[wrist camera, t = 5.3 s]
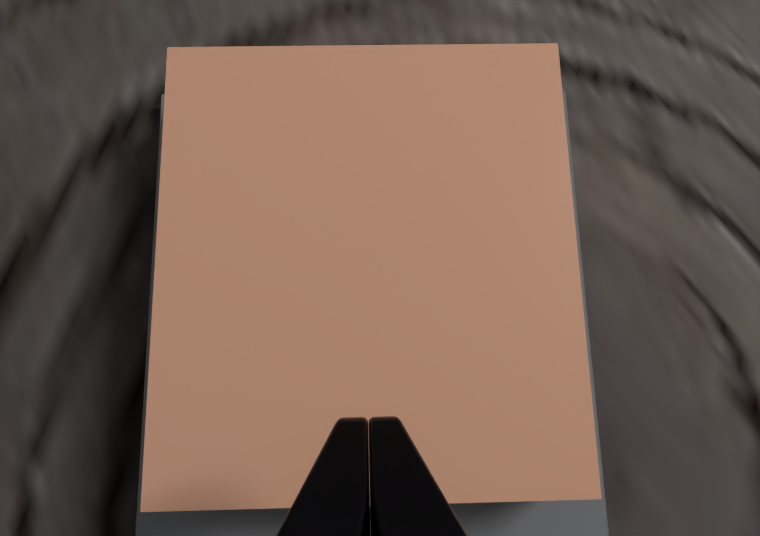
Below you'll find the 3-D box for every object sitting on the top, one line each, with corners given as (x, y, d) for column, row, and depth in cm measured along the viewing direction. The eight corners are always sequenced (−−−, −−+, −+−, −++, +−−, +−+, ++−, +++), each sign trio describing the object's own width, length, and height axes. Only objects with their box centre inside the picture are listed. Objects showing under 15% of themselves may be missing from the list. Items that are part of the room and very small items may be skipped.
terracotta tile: (601, 499, 12) (557, 43, 14) (140, 512, 11) (167, 46, 14) (561, 481, 14) (528, 96, 16) (180, 491, 14) (198, 100, 16)
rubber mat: (611, 648, 14) (620, 658, 13) (135, 665, 14) (126, 675, 13) (559, 98, 17) (564, 89, 16) (167, 103, 17) (161, 94, 16)
